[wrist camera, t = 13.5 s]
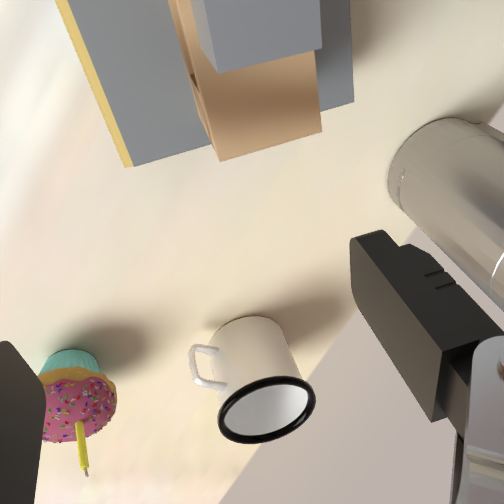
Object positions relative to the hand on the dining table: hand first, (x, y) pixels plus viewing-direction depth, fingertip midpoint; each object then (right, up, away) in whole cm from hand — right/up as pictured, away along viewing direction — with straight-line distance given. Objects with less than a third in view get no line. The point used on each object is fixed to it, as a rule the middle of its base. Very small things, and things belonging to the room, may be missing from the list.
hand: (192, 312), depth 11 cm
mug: (0, -8, +38) cm, 38 cm away
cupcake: (-16, -10, +34) cm, 39 cm away
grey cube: (+1, +12, +8) cm, 15 cm away
